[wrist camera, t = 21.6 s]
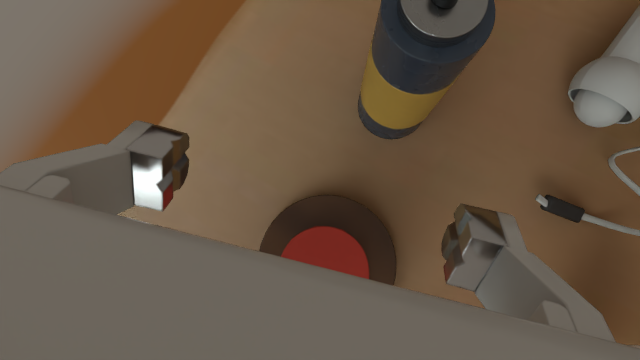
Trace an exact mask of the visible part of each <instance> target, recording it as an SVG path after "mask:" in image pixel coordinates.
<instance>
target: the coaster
mask: <svg viewBox="0 0 640 360" xmlns="http://www.w3.org/2000/svg"><path fill="white" fill-rule="evenodd" d="M314 226H315V227H316V226H330V227H335V228H338V229H342V230H344V231H345V232H347V233H348V234H350V235H351V236H352V237H354V238H355V239H356V240H357V242H358V243H359V244H360V245H361V247H362V248H363V250H364V252H365V254H366V257H367V260H368V264H369V279H370V280H374V281H378V282H382V283H385V284H389V285H394V281H395V275H396V256H395V251H394V246H393V243H392V240H391V238H390V236H389V234H388V232H387V230H386V228H385V227H384V225H383V224H382V222H381V221H380V220H379V219H378V218H377V216H376V215H375V214H374V213H372V212H371V211H370V210H369V209H368V208H366V207H365V206H363V205H362V204H360V203H358V202H356V201H354V200H351V199H348V198H345V197H341V196H335V195H318V196H313V197H309V198H306V199H303V200H300V201H298V202H296V203H294V204H292V205H291V206H289V207H288V208H286V209H285V210H284V211H283V212H281V213H280V214H279V215H278V216H277V217H276V218H275V220H274V221H273V222H272V223H271V225H270V226H269V228H268V229H267V231H266V233H265V235H264V238H263V240H262V243H261V246H260V252H264V253H268V254H272V255H276V256H280V257H281V255H282V253H283V251H284V249H285V247H286V246H287V244H288V243H289V242H290V240H291V239H292V238H294V237H295V236H296V235H298V234H299V233H301V232H302V231H304V230H307V229H309V228H312V227H314Z"/></svg>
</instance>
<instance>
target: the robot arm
mask: <svg viewBox="0 0 640 360" xmlns="http://www.w3.org/2000/svg"><path fill="white" fill-rule="evenodd" d="M188 148H189V136H188V134H187V133H184V132H180V131H176V130H173V129H169V128H165V127H162V126H158V125H154V124H151V123H147V122H143V121H134V122H133V123H132V124H131V125H129V126H128V127H127V128H126V129H125V130H124V131H122V132H121V133H120V134H119V135H118V136H116V137H115V138H114V139H113V140H112V141H110V142H109V143H108V144H107V145H105V144H97V145H93V146H89V147H84V148H80V149H75V150H72V151H67V152H62V153H58V154H54V155H49V156H45V157H40V158H36V159H32V160H27V161H23V162H18V163H14V164H12V165H11V166H9V167H8V168H7V169H5V170H4V171H2V172H1V173H0V360H640V348H636V347H632V346H628V345H624V344H620V343H616V341H615V339H614V337H613V335H612V333H611V331H610V329H609V327H608V325H607V323H606V321H605V319H604V317H603V315H602V314H601V313H600V312H599V311H598V310H597V309H596V308H595V307H593V306H592V305H591V304H590V303H589V302H588V301H587V300H586V299H584V298H583V297H582V296H581V295H580V294H579V293H578V292H576V291H575V290H574V289H573V288H572V287H571V286H570V285H569V284H567V283H566V282H565V281H564V280H563V279H562V278H561V277H559V276H558V275H557V274H556V273H555V272H554V271H553V270H552V269H550V268H549V267H548V266H547V265H546V264H545V263H544V262H542V261H541V260H540V259H539V258H538V257H537V256H536V255H535V254H533V253H530V252H528V251H527V248H526V246H525V243H524V241H523V238H522V235H521V233H520V230H519V228H518V225H517V222H516V220H515V217H514V216H513V215H511V214H507V213H502V212H497V211H492V210H488V209H483V208H479V207H475V206H470V205H466V204H461V203H460V204H459V206H458V207H457V208H456V210H455V212H454V219H455V222H453V223H451V224H450V225H448V226H447V229H446V231H445V233H444V236H443V240H442V248H441V250H442V256H443V257H444V258H445V260H446V263H445V265H444V273H445V280H446V284H449V285H452V286H456V287H459V288H463V289H466V290H470V291H473V292H475V294H476V296H477V297H478V299H479V300H480V301H481V303H482V304H483V306H484V307H485V309H484V308H480V307H476V306H472V305H468V304H464V303H460V302H456V301H452V300H448V299H444V298H440V297H436V296H433V295H429V294H425V293H421V292H417V291H413V290H409V289H405V288H401V287H397V286H393V285H389V284H385V283H382V282H378V281H374V280H370V279H366V278H362V277H358V276H354V275H350V274H346V273H342V272H338V271H334V270H331V269H327V268H323V267H319V266H315V265H311V264H307V263H303V262H299V261H295V260H291V259H287V258H284V257H280V256H276V255H272V254H268V253H264V252H260V251H256V250H252V249H248V248H244V247H240V246H237V245H233V244H229V243H225V242H221V241H217V240H213V239H209V238H205V237H201V236H197V235H193V234H189V233H186V232H182V231H178V230H174V229H170V228H166V227H162V226H158V225H154V224H150V223H146V222H142V221H139V220H135V219H131V218H127V217H123V216H119V215H117V214H119V213H121V212H123V211H125V210H127V209H129V208H131V207H133V206H134V205H136V206H141V207H145V208H149V209H154V210H158V211H164V209H165V208H166V207H167V205H168V204H169V203H170V201H171V200H172V199H173V191H176V190H178V189H180V188H181V186H182V185H183V184H184V181H185V179H186V176H187V173H188V168H189V159H188V157H187V156H186V154H185V152H186V151H187V149H188Z"/></svg>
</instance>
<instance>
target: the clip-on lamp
mask: <svg viewBox="0 0 640 360" xmlns="http://www.w3.org/2000/svg"><path fill="white" fill-rule="evenodd" d="M568 96H569V98H570V99H571V100H572V101H573V103H574V111H575V114H576V116H577V117H578V119H579V120H580V121H582V122H583V123H584V124H586V125H589V126H593V127H606V126H610V125H613V124H615V123H618V124H628V123H632V122H633V121H635V120H637V119H638V118H639V117H640V5H639V6H638V8H637V9H636V10H635V12H634V13H633V14H632V16H631V17H630V18H629V20H628V21H627V22H626V24H625V25H624V26H623V28H622V29H621V31H620V32H619V33H618V35H617V36H616V37H615V39H614V40H613V41H612V43H611V44H610V45H609V47H608V48H607V49H606V51H605V52H604V54H603V55H602V56H601V58H598V59H596V60H594V61H592V62H590V63H589V64H587V65H585V66H584V67H583V68H581V69H580V70H579V71H578V72H577V73H576V75H575V76H574V78H573V79H572V81H571V84H570V87H569V91H568ZM638 150H640V146H639V147H635V148H631V149H627V150H623V151H619V152H617V153H615V154H613V155H611V157H610V158H609V159H608V163H609V167H610V168H611V169H612V170H613V172H614V173H615V174H616V175H617V176H618V177H619V178H620V179H621V180H622V181H623V182H624V183H625V184H627V185H628V186H629V187H630V188H631V189H632V190H633V191H635V192H636V193H637V194H638V195H639V196H640V187H639V186H638V185H636V184H635V183H634V182H633V181H632V180H631V179H630V178H628V177H627V176H626V175H625V174H624V173H623V172H622V171H621V170H620V169H619V168H618V167H617V166H616V164H615V161H614V159H615V158H616V156H619V155H621V154H625V153H629V152H634V151H638ZM535 200H537V201H538V202H539V203H540V204H541V206H540V208H541V209H543V210H545V211H548V212H550V213H553V214H556V215H558V216H561V217H563V218H566V219H569V220H571V221H574V222H580V220H581V219H582V220H585V221H588V222H591V223H595V224H598V225H601V226H604V227H607V228H610V229H614V230H617V231H621V232H624V233H629V234H633V235H637V236H640V230H637V229H633V228H629V227H625V226H622V225H619V224H615V223H612V222H609V221H606V220H603V219H600V218H597V217H594V216H591V215H588V214H585V213H584V212H585V210H584V209H583V208H580V207H578V206H575V205H573V204H570V203H568V202H565V201H563V200H561V199H558V198H556V197H553V196H550V195H546V196H545V197H543V196H541V195H540V194H538V195H537V197H536V198H535Z"/></svg>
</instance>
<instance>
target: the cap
mask: <svg viewBox="0 0 640 360" xmlns="http://www.w3.org/2000/svg"><path fill="white" fill-rule="evenodd" d="M281 257H284V258H287V259H291V260H295V261H299V262H303V263H307V264H311V265H315V266H319V267H323V268H327V269H331V270H334V271H338V272H342V273H346V274H350V275H354V276H358V277H362V278H366V279H369V264H368V260H367V257H366V254H365V252H364V250H363V248H362V247H361V245H360V244H359V243H358V242H357V240H356V239H355V238H354V237H352V236H351V235H350V234H348V233H347V232H345V231H344V230H342V229H338V228H335V227H330V226H316V227H315V226H314V227H312V228H309V229H307V230H304V231H302V232H301V233H299V234H298V235H296V236H295V237H294V238H292V239H291V240H290V242H289V243H288V244H287V246H286V247H285V249H284V251H283V253H282V255H281Z"/></svg>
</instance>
